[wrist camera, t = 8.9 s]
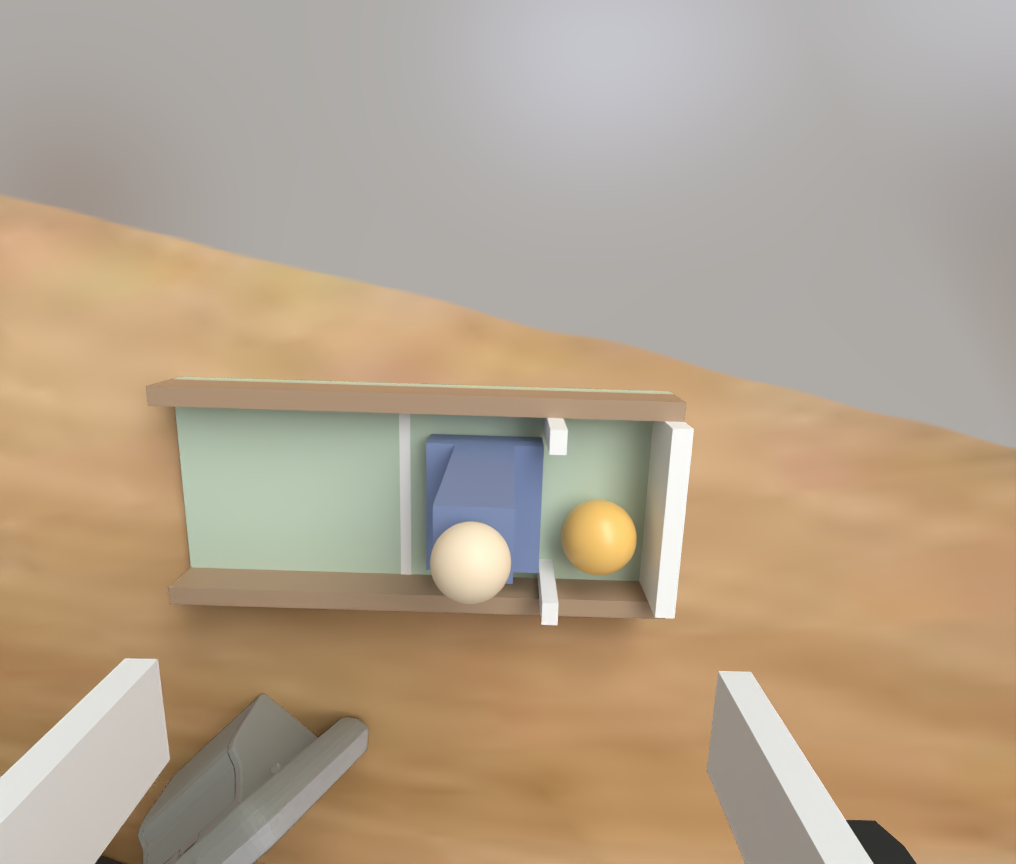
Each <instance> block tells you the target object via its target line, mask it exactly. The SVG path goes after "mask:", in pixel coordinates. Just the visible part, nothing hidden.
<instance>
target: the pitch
mask: <svg viewBox="0 0 1016 864" xmlns="http://www.w3.org/2000/svg"><path fill="white" fill-rule="evenodd" d="M146 393H147V402H148V406H170V407H175V413H176V423H177V433H178V443H179V453H180V463H181V473H182V483H183V493H184V503H185V513H186V523H187V533H188V543H189V553H190V563H191V568H190V569H189V570H187V571H186V572H185V573H184V574H183V575H182V576H181V577H179V578H178V579H177V580H176V581H175V582H174V583H172V584H171V585H170V586H169V587H168V593H169V602H170V604H182V605H214V606H247V607H280V608H313V609H346V610H378V611H411V612H444V613H477V614H509V615H541V625H557V623H558V616H575V617H608V618H641V619H665V618H674V617H675V607H676V598H677V588H678V578H679V568H680V559H681V549H682V539H683V530H684V520H685V510H686V500H687V491H688V481H689V471H690V462H691V452H692V442H693V433H694V429H693V428H692V427H690V426H689V425H688V424H686V423H685V412H686V402H685V401H683V400H682V399H680V398H679V397H677V396H676V395H674V394H673V393H671V392H670V391H643V390H610V389H577V388H544V387H511V386H478V385H445V384H412V383H379V382H346V381H313V380H280V379H247V378H214V377H178V378H175V379H171V380H167V381H163V382H160V383H156V384H152V385H148V386H146ZM431 434H449V435H482V436H515V437H542V439H543V444H544V458H543V481H542V503H541V526H540V548H539V571H538V573H516V572H513V584H505V585H504V587H503V588H502V589H501V590H500V591H499V592H498V593H497V594H496V595H495V596H494V597H492V598H491V599H489V600H487V601H484V602H481V603H477V604H463V603H459V602H456V601H453V600H451V599H450V598H448V597H447V596H445V595H444V594H443V593H442V592H441V591H440V590H439V588H438V587H437V586H436V584H435V582H434V581H433V577H432V574H431V570H426V442H427V441H428V439H429V437H430V435H431ZM589 500H606V501H610V502H613V503H615V504H617V505H618V506H620V507H621V508H623V509H624V510H625V511H626V512H627V513H628V515H629V516H630V517H631V519H632V521H633V523H634V526H635V529H636V534H637V543H636V548H635V551H634V554H633V556H632V558H631V559H630V561H629V562H628V563H627V564H626V565H625V566H624V567H623V568H622V569H620V570H618V571H617V572H615V573H612V574H608V575H602V576H598V575H591V574H587V573H585V572H583V571H581V570H579V569H578V568H576V567H575V566H574V565H573V564H572V563H571V562H570V561H569V560H568V558H567V556H566V555H565V553H564V550H563V547H562V543H561V530H562V526H563V523H564V521H565V519H566V517H567V515H568V514H569V513H570V512H571V510H573V509H574V508H575V507H576V506H578V505H579V504H581V503H583V502H586V501H589Z"/></svg>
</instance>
